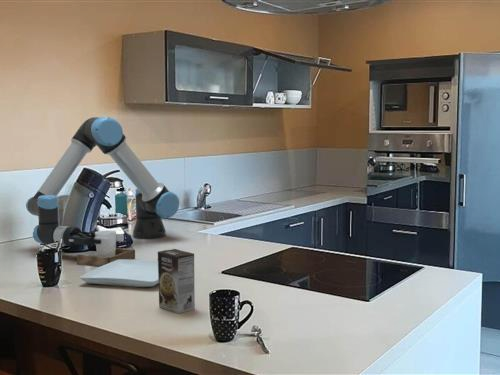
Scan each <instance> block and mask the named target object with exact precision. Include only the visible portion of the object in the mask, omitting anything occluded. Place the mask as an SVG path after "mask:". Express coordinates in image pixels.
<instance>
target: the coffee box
mask: <svg viewBox="0 0 500 375" xmlns="http://www.w3.org/2000/svg"><path fill="white" fill-rule="evenodd" d="M157 260H158V280H159V283H158V307H159V308H161V309H165V310H167V311H169V312H171V313H175V314H177V315H178V314H182V313H186V312H189V311H193V310H195V309H196V308H195V306H196V305H195V304H196V303H195V300H196V299H195V297H196V296H195V295H196V294H195V292H196V291H195V253H192V252H188V251H184V250H181V249H176V248H172V249H164V250H161V251H160V250H159V251H157Z"/></svg>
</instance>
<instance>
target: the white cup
mask: <svg viewBox="0 0 500 375" xmlns="http://www.w3.org/2000/svg"><path fill="white" fill-rule="evenodd" d="M94 232H95V237H98V238H110V246H104V245H95V249H96V250H95V251H96V256H99V257H112V256H115V251H116V248H117V241H116V234H117V231H116V230H110V229H109V230H107V229H106V230H98V231H94Z"/></svg>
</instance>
